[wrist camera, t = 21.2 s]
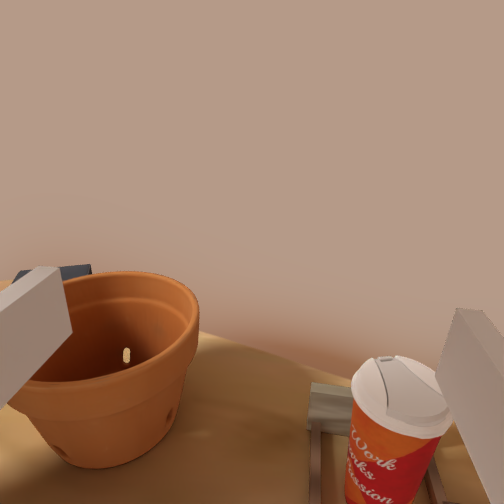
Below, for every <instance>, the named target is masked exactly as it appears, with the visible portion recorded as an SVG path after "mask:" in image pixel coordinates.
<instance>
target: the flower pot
mask: <svg viewBox="0 0 504 504" xmlns="http://www.w3.org/2000/svg"><path fill="white" fill-rule="evenodd" d="M62 283H63V288H64V293H65V298H66V302H67V307H68V312H69V317H70V322H71V327H72V332H73V333H72V334H71V335H70V336H69V337H68V338H67V339H66V340H65V341H64V342H63V343H62V344H61V346H60V347H59V348H58V349H57V350H56V351H55V352H54V353H53V354H52V355H51V356H50V357H49V358H48V359H47V361H46V362H45V363H44V364H43V365H42V366H41V367H40V368H39V369H38V370H37V371H36V372H35V373H34V374H33V375H32V377H31V378H30V379H29V380H28V381H27V382H26V383H25V384H24V385H23V386H22V387H21V388H20V389H19V390H18V392H17V393H16V394H15V395H14V396H13V397H12V398H11V399H10V400H9V401H8V402H7V404H8V405H9V406H11V407H12V408H13V409H15V410H17V411H19V412H21V413H23V414H25V415H26V416H27V417H28V418H29V420H30V421H31V422H32V424H33V425H34V426H35V428H36V429H37V430H38V432H39V433H40V434H41V436H42V437H43V438H44V440H45V441H46V442H47V444H48V445H49V446H50V447H51V448H52V449H53V450H54V451H55V452H56V453H57V454H58V455H59V456H60V457H61V458H62V459H63V460H65V461H66V462H68V463H70V464H72V465H75V466H78V467H82V468H91V469H100V468H108V467H113V466H117V465H121V464H124V463H127V462H129V461H131V460H134V459H136V458H138V457H140V456H141V455H143V454H144V453H146V452H148V451H149V450H150V449H152V448H153V447H154V446H155V445H156V444H157V443H159V442H160V441H161V439H162V438H163V437H164V436H165V435H166V434H167V432H168V431H169V429H170V428H171V426H172V424H173V422H174V419H175V417H176V413H177V409H178V406H179V402H180V397H181V393H182V389H183V384H184V380H185V375H186V371H187V367H188V366H189V364H190V363H191V361H192V359H193V357H194V355H195V352H196V349H197V345H198V334H199V305H198V301H197V299H196V297H195V295H194V294H193V292H192V291H191V290H190V289H189V288H188V287H186V286H185V285H184V284H182V283H180V282H178V281H176V280H174V279H172V278H169V277H166V276H163V275H158V274H154V273H147V272H136V271H119V272H105V273H98V274H91V275H86V276H81V277H77V278H72V279H69V280H65V281H62ZM125 348H129V349H130V362H129V363H125V362H124V361H123V350H124V349H125Z"/></svg>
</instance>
